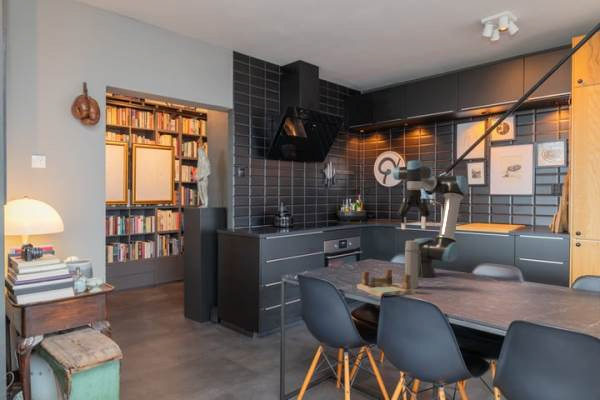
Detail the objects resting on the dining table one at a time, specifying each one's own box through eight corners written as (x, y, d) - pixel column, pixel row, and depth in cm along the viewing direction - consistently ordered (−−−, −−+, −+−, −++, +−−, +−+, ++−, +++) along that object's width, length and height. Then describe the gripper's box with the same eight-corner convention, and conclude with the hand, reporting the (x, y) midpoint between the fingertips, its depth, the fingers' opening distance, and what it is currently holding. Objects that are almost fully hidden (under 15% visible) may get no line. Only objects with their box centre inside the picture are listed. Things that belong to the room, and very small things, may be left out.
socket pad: (386, 286, 203) (386, 286, 203) (399, 291, 194) (399, 290, 194) (370, 288, 199) (370, 287, 199) (382, 293, 190) (382, 292, 190)
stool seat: (389, 284, 217) (389, 268, 217) (414, 293, 198) (415, 275, 198) (357, 287, 208) (357, 271, 208) (380, 297, 189) (381, 278, 189)
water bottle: (402, 288, 209) (403, 241, 209) (406, 285, 216) (406, 240, 216) (420, 290, 205) (421, 242, 204) (423, 287, 212) (423, 241, 211)
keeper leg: (368, 285, 204) (368, 277, 204) (389, 284, 208) (389, 275, 208) (371, 286, 201) (371, 278, 201) (392, 285, 205) (392, 276, 205)
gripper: (427, 189, 218) (426, 227, 218) (390, 189, 208) (390, 229, 208) (437, 189, 211) (436, 228, 212) (400, 189, 201) (399, 230, 201)
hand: (413, 229), depth 210 cm, fingers open, 13 cm apart
